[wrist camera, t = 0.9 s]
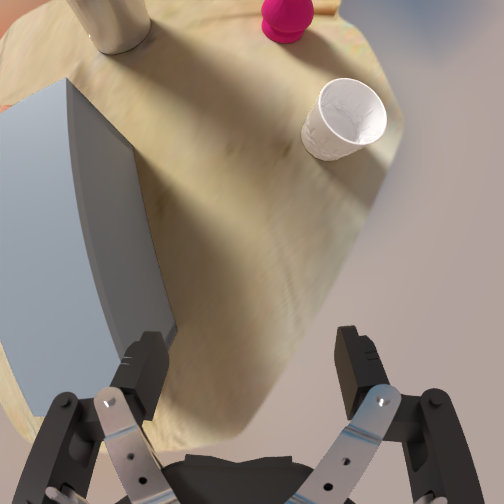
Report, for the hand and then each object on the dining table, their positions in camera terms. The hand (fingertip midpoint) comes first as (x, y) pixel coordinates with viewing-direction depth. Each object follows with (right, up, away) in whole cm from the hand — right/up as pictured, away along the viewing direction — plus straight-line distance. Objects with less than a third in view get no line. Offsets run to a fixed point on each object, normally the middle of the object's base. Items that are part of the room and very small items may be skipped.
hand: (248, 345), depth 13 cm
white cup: (+10, +19, +24) cm, 33 cm away
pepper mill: (+5, +37, +23) cm, 44 cm away
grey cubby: (-18, +5, +22) cm, 29 cm away
